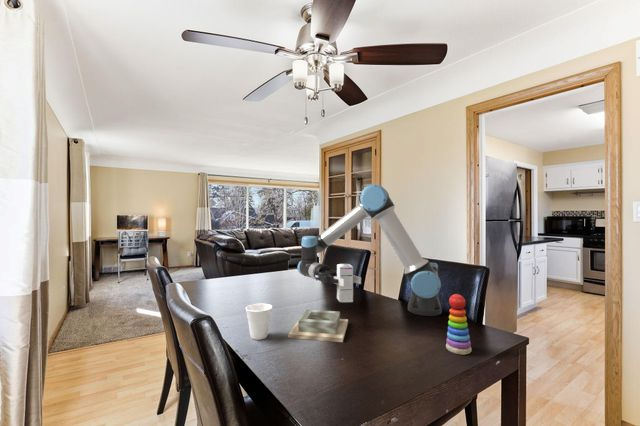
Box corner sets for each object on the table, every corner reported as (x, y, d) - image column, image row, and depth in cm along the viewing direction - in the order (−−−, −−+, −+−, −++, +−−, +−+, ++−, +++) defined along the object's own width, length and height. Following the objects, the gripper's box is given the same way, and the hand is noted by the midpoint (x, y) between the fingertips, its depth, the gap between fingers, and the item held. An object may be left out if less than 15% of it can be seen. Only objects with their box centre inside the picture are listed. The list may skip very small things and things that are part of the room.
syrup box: (353, 302, 125) (353, 265, 125) (338, 302, 124) (339, 266, 124) (349, 298, 130) (350, 263, 130) (336, 298, 130) (336, 263, 130)
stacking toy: (466, 345, 108) (466, 292, 108) (475, 356, 100) (475, 298, 100) (442, 344, 109) (443, 291, 109) (450, 355, 101) (450, 297, 101)
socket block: (347, 322, 131) (347, 309, 131) (342, 342, 111) (342, 326, 111) (301, 319, 134) (301, 307, 134) (288, 338, 115) (288, 323, 115)
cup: (277, 333, 119) (277, 304, 119) (264, 344, 109) (264, 312, 109) (254, 330, 122) (254, 302, 122) (239, 340, 112) (240, 309, 113)
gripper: (337, 278, 148) (371, 288, 129) (300, 282, 136) (331, 294, 117) (338, 262, 148) (371, 269, 129) (301, 265, 136) (331, 274, 117)
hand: (352, 281), depth 123 cm, fingers closed on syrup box, 7 cm apart
